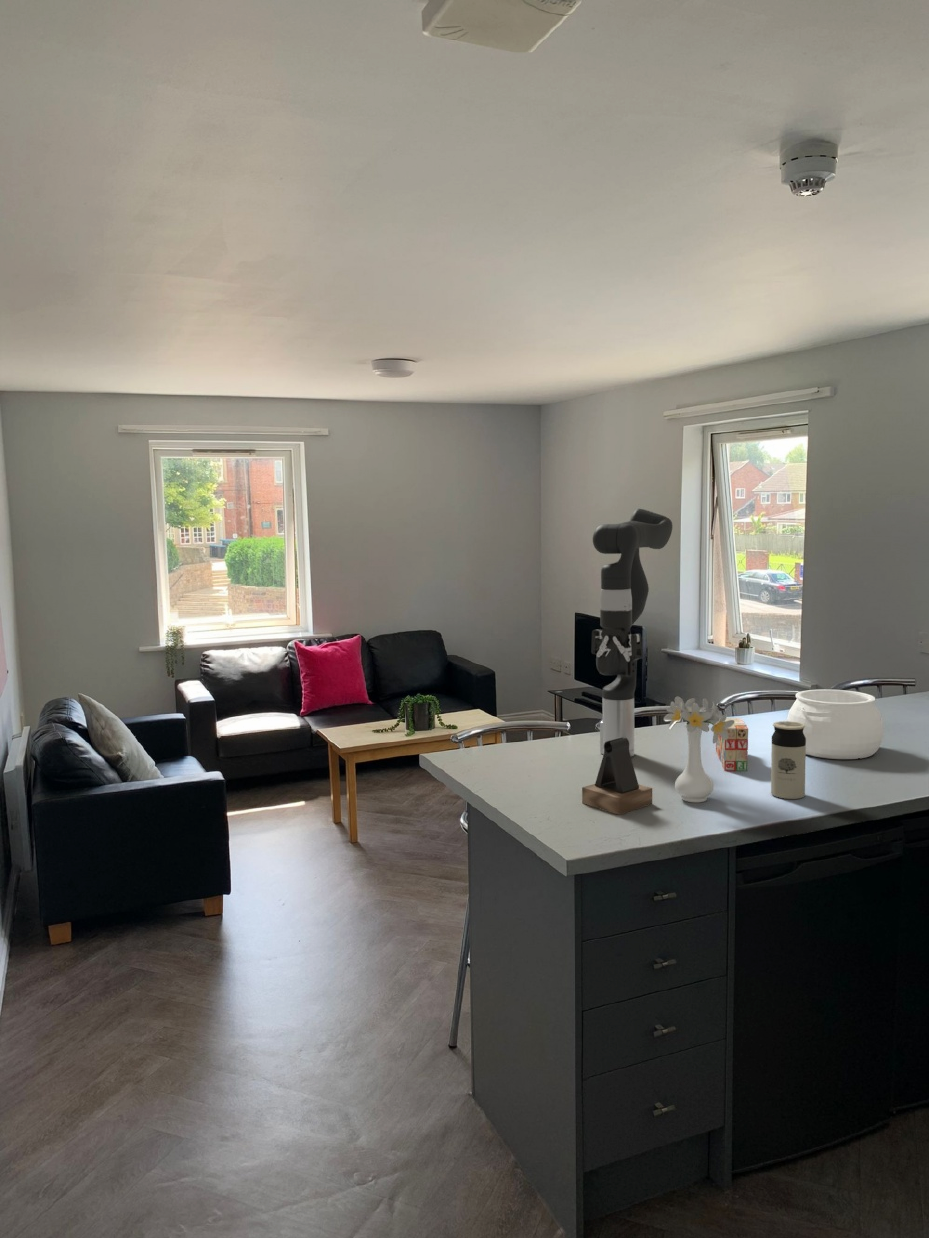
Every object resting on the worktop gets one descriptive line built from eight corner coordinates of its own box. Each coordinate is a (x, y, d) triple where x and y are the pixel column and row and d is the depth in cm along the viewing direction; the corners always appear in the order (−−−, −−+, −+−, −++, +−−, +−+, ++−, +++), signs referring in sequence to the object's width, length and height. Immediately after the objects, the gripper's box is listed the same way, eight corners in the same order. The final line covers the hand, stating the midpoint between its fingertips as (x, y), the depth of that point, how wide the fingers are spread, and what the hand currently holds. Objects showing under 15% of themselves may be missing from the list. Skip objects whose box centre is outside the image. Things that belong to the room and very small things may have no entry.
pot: (854, 768, 248) (856, 709, 246) (767, 751, 268) (767, 697, 266) (900, 749, 267) (902, 694, 265) (815, 735, 287) (816, 683, 285)
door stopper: (594, 786, 224) (594, 738, 223) (611, 781, 228) (610, 734, 226) (622, 794, 217) (622, 744, 216) (639, 789, 221) (639, 740, 219)
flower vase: (714, 813, 213) (715, 709, 211) (650, 797, 227) (650, 698, 224) (744, 801, 222) (745, 700, 219) (681, 786, 236) (681, 691, 233)
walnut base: (582, 803, 224) (582, 787, 223) (615, 793, 231) (615, 777, 231) (619, 814, 214) (619, 798, 214) (652, 804, 222) (652, 788, 221)
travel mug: (777, 788, 232) (778, 719, 230) (809, 793, 227) (810, 723, 225) (766, 796, 226) (766, 725, 224) (798, 802, 221) (799, 729, 219)
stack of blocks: (715, 751, 270) (715, 711, 269) (737, 752, 269) (737, 711, 268) (724, 771, 249) (724, 727, 248) (748, 771, 248) (748, 727, 247)
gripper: (583, 607, 221) (584, 673, 223) (628, 610, 210) (628, 680, 211) (604, 604, 225) (605, 669, 227) (649, 608, 214) (649, 676, 216)
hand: (616, 674), depth 219 cm, fingers open, 8 cm apart
